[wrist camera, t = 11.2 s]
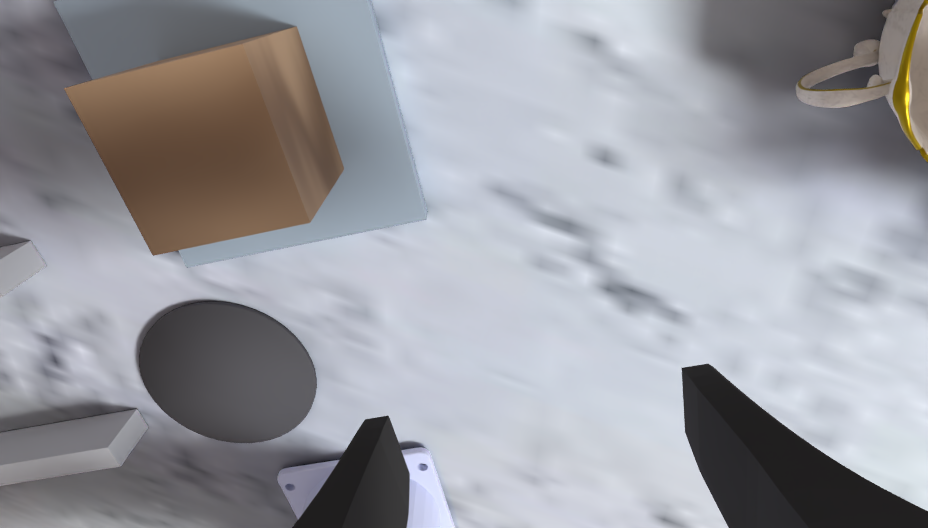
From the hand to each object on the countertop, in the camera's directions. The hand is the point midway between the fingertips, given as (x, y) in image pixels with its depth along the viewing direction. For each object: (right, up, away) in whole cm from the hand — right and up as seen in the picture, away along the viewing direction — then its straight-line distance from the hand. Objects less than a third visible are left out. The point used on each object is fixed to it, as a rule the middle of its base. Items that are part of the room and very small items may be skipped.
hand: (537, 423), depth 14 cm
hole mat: (-13, -1, +13) cm, 18 cm away
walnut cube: (-9, +9, +6) cm, 14 cm away
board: (-9, +9, +7) cm, 15 cm away
